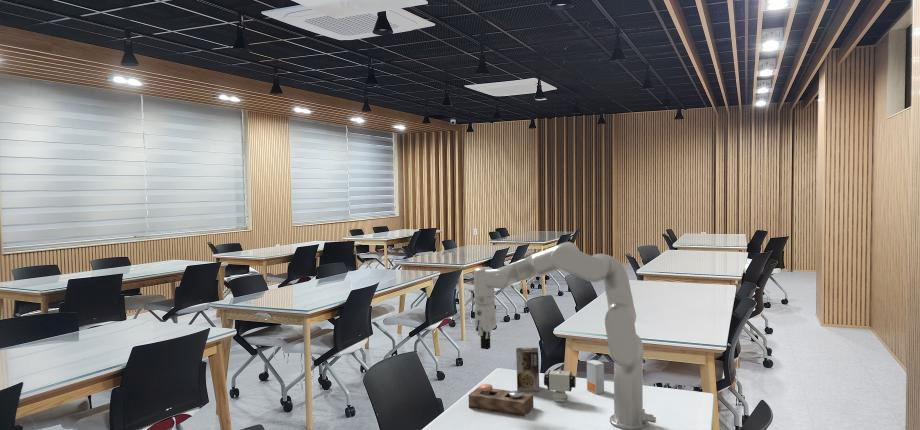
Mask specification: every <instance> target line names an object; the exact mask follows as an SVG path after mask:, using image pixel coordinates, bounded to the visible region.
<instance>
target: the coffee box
mask: <svg viewBox="0 0 920 430" xmlns="http://www.w3.org/2000/svg"><path fill="white" fill-rule="evenodd" d="M515 351H516V353H515V356H516V357H515V358H516V362H515V363H516V389H517V390H516V391H521V392H524V391H525V392H531V391H532V392H536V391H537V392H538V391H539V392H540V368H539V367H540V365H539V364H540V362H539V348H538V347H516V349H515Z"/></svg>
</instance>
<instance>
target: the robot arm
mask: <svg viewBox="0 0 920 430" xmlns="http://www.w3.org/2000/svg"><path fill="white" fill-rule="evenodd" d="M559 270H560V271H561V270H562V271H563V272H566V273H569V274H571V275H573V276H576V277H578V278H580V279H583V280H585V281H588V282H591V283H598V282H602V281H603V283H604V289H605V296H606V300H607V302H606V303H607V308H608V309H607V311H606V313H605V316H604V327H605V332H606V338H607V344H608V345H607V346H608V350H609V354H610V357H611V359H612V362H613V364H614V365H613V393H614V394H613V405H614V406H613V413H614V414H612V415H611V416H609V422H610V424H611V425H613V426H614V427H617V428H619V429H622V430H640V429H644V428H646V427H647V426H648V422H649V423H653V424H655V423H657V417H656V416H654V414H650V413H649V414H648V413H647V412H646V410H645V408H643V407H644V406H643V405H644V403H643V400H644V399H643V398H644V397H643V391H644V389H643V386H644V385H643V382H644V381H643V380H644V379H643V377H644V376H643V374H644V373H643V371H644V367H643V366H644V365H643V364H644V344H643V341H642V338H641V337H640V336H639V335H638V334H637V331H636V325H635V323H636V321H637V313H636V309H635V308H636V307H635V303H634V299H633V294H632V291H631V285H630V280H629V277H628V272H627V271H626V269H625V267H624V265H623V264H622V263H621V261H619V260H618V259H617V258H615V257H614V256H612V255H608V254H607V253H596V254H592V255H590V254H588V253H587V252H583V251H581V250H580V249H579V247H578V245H576V244H575V243H573V242H571V241H565V242H562V243H559V244H557V245H554V246H552V247H547V248H546V249H543V250H541V251H538V252H535V253H532V254H530V255H529V256H528V257H525V258H522V259H520V260H517V261H514V262H512V263H508V264H506V265H504V266H500V267H499V268H495V269H493V267H490V266H479V267H476V268H474V270H473V285H474V286H473V289H474V290H473V292H474V297H473V298H474V305H475V310H474V328H475V332H477V337H478V336H479V338H480V349H482V350H490V349H491V336H492V335H491V333H492V331H493V330H494V329H496V327H497V312H496V306H495V304H496V301H495V289H498V290H500V289H501V290H502V289H503V290H504V289H507V288H508V287H510V286H512V285H514V284H517V283H518V282H521V281H525V280H527V279H528V280H529V279H530V278H534V277H535V278H536V277H538V278H539V277H543V276H546V275H549V274H551V273H554V272H557V271H559Z"/></svg>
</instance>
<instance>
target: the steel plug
mask: <svg viewBox="0 0 920 430" xmlns="http://www.w3.org/2000/svg"><path fill="white" fill-rule="evenodd" d="M510 391H511V392H509V396H510V397H511V398H515V399H519V398H521V397H522V393H523V391H517V390H510Z"/></svg>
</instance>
